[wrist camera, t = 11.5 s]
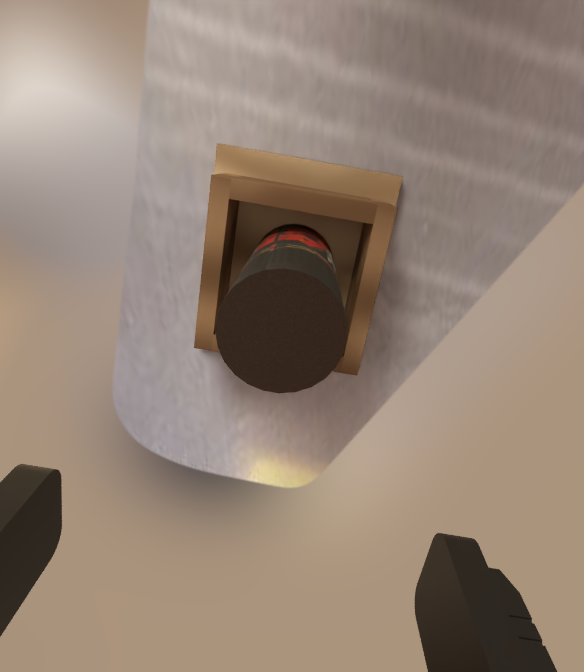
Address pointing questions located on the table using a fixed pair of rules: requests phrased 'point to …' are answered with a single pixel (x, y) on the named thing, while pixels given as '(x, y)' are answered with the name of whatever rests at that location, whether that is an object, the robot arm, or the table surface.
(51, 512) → the robot arm
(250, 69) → the table surface
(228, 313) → the deodorant
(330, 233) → the holder
